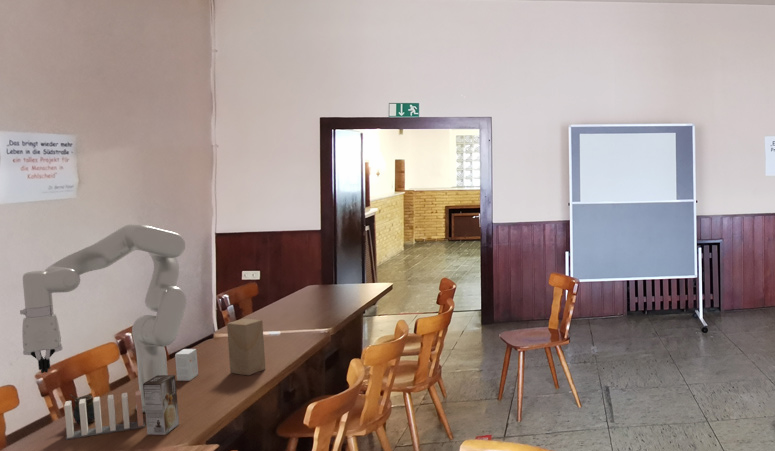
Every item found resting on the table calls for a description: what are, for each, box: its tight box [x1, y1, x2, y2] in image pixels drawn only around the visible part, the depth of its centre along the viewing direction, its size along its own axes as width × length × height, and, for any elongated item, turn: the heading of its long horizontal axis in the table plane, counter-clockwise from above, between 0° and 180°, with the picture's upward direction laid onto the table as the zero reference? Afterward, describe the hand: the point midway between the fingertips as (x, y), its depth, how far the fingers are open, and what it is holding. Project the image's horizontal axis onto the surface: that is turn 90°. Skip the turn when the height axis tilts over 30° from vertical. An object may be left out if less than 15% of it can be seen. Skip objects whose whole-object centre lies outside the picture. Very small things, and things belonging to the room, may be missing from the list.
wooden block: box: [226, 318, 267, 376], centre depth 285 cm, size 10×10×20 cm
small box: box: [174, 348, 199, 382], centre depth 281 cm, size 8×6×10 cm
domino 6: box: [134, 390, 144, 427], centre depth 229 cm, size 5×2×10 cm, turn 20°
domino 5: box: [121, 392, 131, 429], centre depth 227 cm, size 5×2×10 cm, turn 20°
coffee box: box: [143, 374, 180, 436], centre depth 223 cm, size 9×6×16 cm
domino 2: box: [79, 399, 89, 436], centre depth 223 cm, size 5×2×10 cm, turn 19°
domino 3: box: [93, 396, 103, 433], centre depth 225 cm, size 5×2×10 cm, turn 20°
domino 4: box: [107, 394, 117, 431], centre depth 226 cm, size 5×2×10 cm, turn 20°
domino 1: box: [63, 400, 75, 438], centre depth 222 cm, size 5×2×10 cm, turn 20°
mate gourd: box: [69, 394, 95, 425], centre depth 234 cm, size 7×8×10 cm
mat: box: [65, 419, 146, 441], centre depth 226 cm, size 6×23×1 cm, turn 110°
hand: (44, 371), depth 219 cm, fingers closed
